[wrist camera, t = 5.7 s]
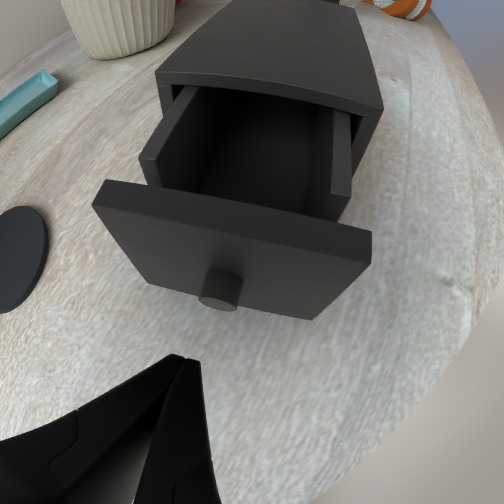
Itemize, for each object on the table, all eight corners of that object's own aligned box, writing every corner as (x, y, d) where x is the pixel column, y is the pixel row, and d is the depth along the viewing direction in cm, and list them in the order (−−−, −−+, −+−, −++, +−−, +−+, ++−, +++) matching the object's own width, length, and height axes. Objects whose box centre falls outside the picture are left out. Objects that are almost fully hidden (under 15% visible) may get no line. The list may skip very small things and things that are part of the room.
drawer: (308, 342, 15) (369, 301, 8) (140, 302, 15) (75, 235, 8) (331, 112, 23) (352, 38, 16) (229, 93, 24) (229, 18, 17)
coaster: (36, 318, 15) (31, 316, 15) (-33, 308, 15) (-37, 306, 14) (60, 204, 19) (57, 200, 18) (-8, 214, 18) (-12, 211, 18)
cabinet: (330, 221, 19) (384, 109, 11) (179, 190, 20) (154, 71, 11) (335, 80, 28) (354, 8, 19) (243, 63, 28) (246, -11, 20)
